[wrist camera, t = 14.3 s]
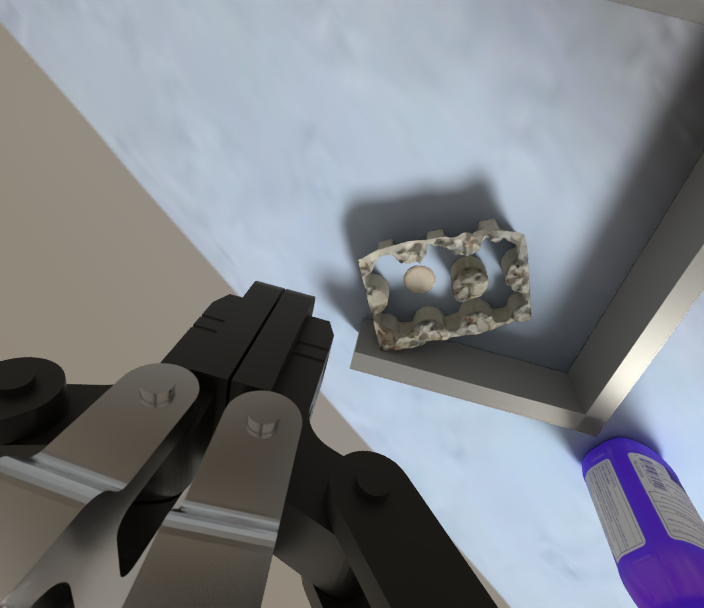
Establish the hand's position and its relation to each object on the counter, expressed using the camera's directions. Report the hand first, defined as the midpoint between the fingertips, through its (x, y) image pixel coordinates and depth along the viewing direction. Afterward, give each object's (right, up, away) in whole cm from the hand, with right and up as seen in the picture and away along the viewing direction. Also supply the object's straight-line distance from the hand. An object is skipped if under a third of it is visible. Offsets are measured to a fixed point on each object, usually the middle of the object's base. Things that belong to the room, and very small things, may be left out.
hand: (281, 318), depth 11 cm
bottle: (+24, -13, +26) cm, 37 cm away
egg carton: (+8, +3, +20) cm, 22 cm away
